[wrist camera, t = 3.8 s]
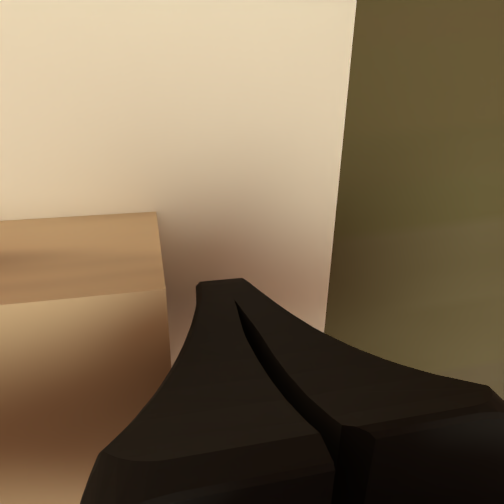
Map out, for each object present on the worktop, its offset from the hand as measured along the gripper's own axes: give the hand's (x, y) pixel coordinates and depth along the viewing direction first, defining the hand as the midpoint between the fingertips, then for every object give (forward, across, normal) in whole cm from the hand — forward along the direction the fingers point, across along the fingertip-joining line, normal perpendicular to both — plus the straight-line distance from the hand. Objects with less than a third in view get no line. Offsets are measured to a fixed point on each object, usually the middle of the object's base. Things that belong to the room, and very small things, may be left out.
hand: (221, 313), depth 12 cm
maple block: (+1, +4, 0) cm, 4 cm away
